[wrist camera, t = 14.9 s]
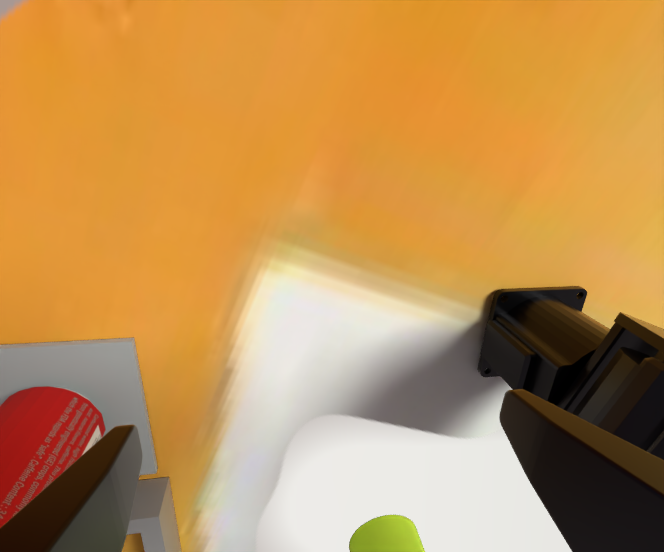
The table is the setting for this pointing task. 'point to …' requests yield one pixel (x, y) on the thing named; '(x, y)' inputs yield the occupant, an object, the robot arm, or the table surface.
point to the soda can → (42, 441)
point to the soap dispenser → (386, 536)
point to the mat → (85, 380)
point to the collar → (155, 516)
